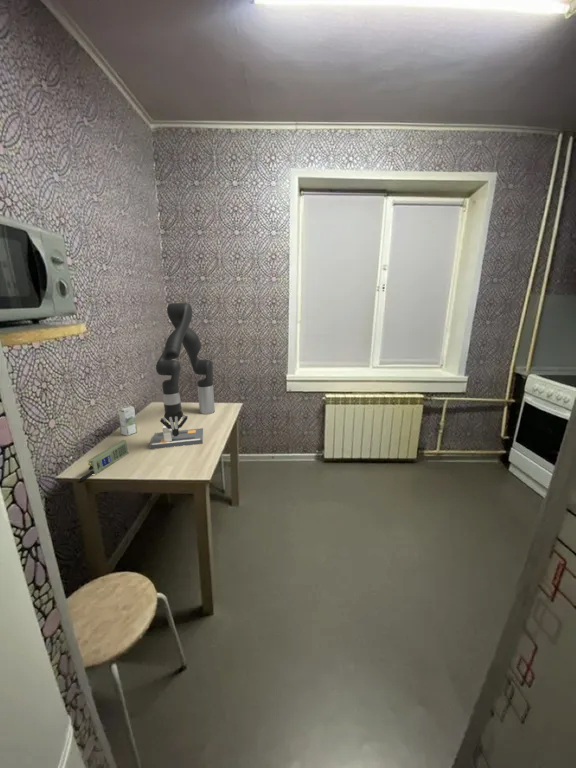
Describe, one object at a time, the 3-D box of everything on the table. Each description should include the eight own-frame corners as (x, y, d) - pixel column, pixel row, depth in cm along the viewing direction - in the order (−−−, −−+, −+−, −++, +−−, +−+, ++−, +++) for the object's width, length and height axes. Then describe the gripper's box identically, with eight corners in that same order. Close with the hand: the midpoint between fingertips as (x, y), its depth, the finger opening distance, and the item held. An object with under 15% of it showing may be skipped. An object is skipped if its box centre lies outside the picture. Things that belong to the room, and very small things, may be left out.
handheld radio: (130, 453, 145) (85, 483, 122) (123, 453, 146) (78, 482, 122) (127, 440, 144) (81, 467, 120) (121, 439, 144) (74, 466, 121)
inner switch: (164, 432, 162) (163, 425, 161) (170, 432, 163) (170, 424, 162) (163, 435, 158) (162, 428, 157) (170, 434, 159) (169, 427, 158)
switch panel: (155, 436, 163) (154, 432, 162) (203, 431, 168) (202, 428, 168) (150, 449, 149) (149, 445, 148) (202, 443, 154) (202, 439, 154)
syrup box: (130, 430, 171) (127, 404, 167) (137, 432, 168) (134, 406, 165) (120, 434, 166) (116, 408, 163) (127, 436, 163) (123, 409, 160)
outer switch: (165, 438, 155) (164, 431, 154) (172, 437, 155) (171, 430, 154) (164, 441, 151) (163, 433, 150) (171, 441, 152) (170, 433, 151)
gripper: (187, 398, 154) (190, 431, 159) (158, 400, 151) (162, 434, 156) (186, 403, 147) (189, 437, 152) (156, 405, 144) (160, 440, 149)
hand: (175, 435), depth 154 cm, fingers closed
